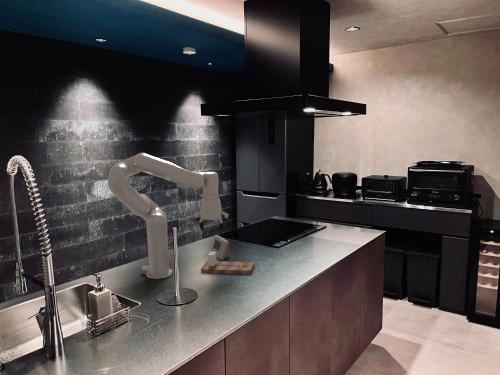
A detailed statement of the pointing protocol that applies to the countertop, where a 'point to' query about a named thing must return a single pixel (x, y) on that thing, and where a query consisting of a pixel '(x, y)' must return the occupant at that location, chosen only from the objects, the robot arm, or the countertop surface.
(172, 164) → the robot arm
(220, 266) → the console board
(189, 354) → the countertop surface
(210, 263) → the fader knob
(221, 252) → the digital clock
